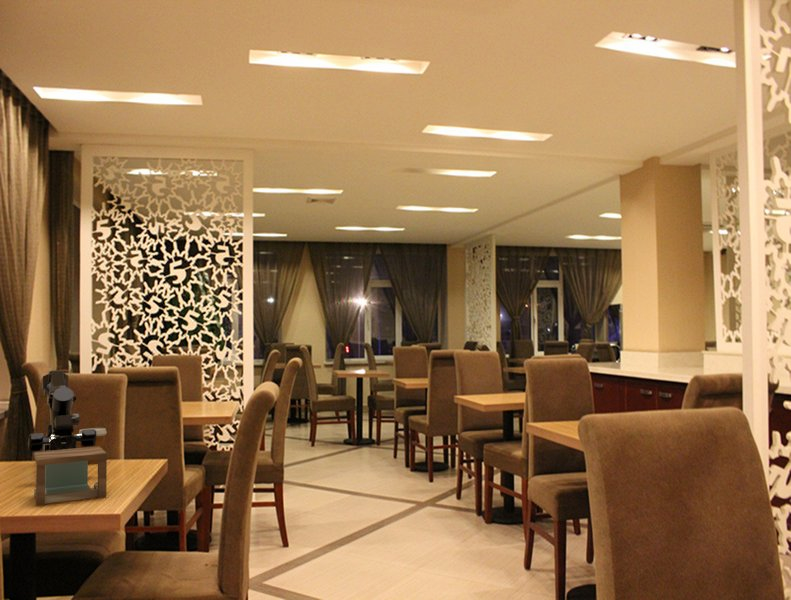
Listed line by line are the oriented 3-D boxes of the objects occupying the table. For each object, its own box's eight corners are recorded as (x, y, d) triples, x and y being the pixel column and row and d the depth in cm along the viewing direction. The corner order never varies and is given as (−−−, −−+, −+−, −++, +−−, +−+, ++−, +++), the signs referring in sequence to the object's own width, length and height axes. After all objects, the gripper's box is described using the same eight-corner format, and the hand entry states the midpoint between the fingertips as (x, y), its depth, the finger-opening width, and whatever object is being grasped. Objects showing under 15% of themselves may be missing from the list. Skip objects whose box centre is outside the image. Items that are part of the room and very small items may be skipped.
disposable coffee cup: (79, 466, 232) (79, 431, 233) (76, 462, 240) (76, 429, 241) (108, 463, 237) (109, 429, 238) (104, 459, 245) (104, 427, 246)
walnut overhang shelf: (33, 495, 188) (34, 452, 188) (99, 487, 196) (99, 446, 197) (36, 506, 174) (37, 459, 175) (106, 497, 183) (106, 453, 183)
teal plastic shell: (45, 492, 191) (45, 461, 192) (87, 487, 197) (87, 457, 197) (48, 502, 179) (48, 468, 180) (92, 496, 185) (92, 463, 185)
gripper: (29, 407, 202) (30, 448, 192) (96, 403, 212) (100, 442, 202) (27, 430, 209) (28, 472, 199) (92, 425, 218) (96, 465, 208)
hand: (64, 462), depth 202 cm, fingers closed
